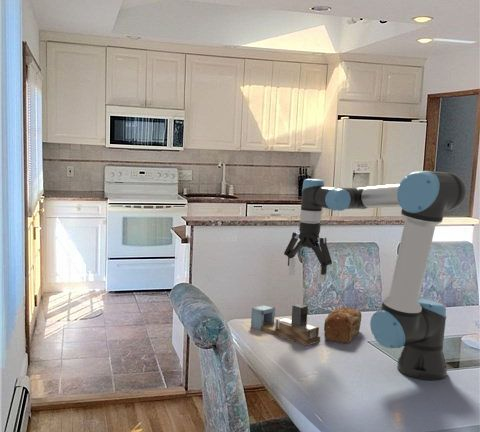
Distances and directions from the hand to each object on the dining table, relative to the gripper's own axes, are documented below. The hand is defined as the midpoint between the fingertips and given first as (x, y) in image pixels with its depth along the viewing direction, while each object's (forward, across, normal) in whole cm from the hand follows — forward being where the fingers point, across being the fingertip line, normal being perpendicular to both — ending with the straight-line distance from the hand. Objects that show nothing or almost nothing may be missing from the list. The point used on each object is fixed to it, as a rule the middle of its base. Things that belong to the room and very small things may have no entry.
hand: (305, 279), depth 205 cm
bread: (+22, -8, -15) cm, 28 cm away
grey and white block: (+21, +2, +1) cm, 21 cm away
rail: (+22, +7, +2) cm, 23 cm away
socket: (+23, +18, +2) cm, 29 cm away
